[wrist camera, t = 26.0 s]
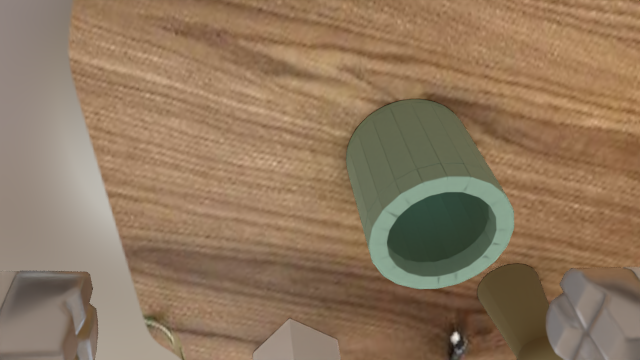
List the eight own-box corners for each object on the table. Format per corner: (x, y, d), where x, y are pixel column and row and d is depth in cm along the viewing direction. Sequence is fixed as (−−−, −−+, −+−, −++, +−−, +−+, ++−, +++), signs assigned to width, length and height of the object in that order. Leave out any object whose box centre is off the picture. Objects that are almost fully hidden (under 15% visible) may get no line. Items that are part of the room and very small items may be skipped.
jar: (339, 200, 49) (359, 290, 41) (354, 96, 43) (382, 175, 35) (450, 202, 50) (491, 288, 42) (479, 101, 45) (533, 178, 37)
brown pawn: (550, 281, 58) (607, 377, 49) (501, 316, 60) (548, 414, 51) (514, 254, 55) (567, 351, 46) (464, 291, 57) (506, 391, 48)
